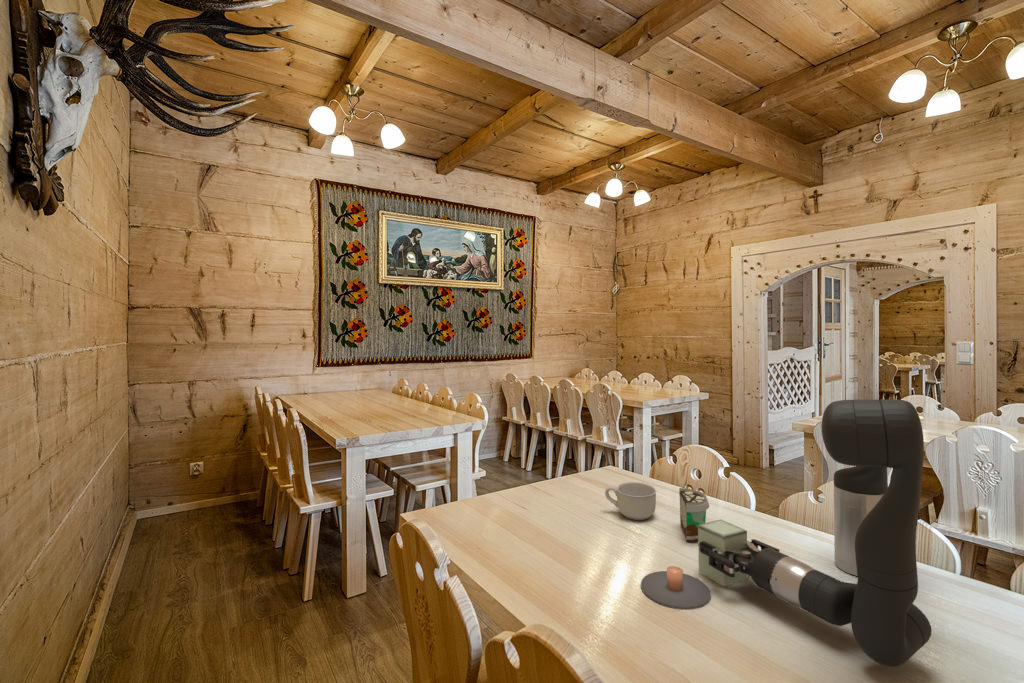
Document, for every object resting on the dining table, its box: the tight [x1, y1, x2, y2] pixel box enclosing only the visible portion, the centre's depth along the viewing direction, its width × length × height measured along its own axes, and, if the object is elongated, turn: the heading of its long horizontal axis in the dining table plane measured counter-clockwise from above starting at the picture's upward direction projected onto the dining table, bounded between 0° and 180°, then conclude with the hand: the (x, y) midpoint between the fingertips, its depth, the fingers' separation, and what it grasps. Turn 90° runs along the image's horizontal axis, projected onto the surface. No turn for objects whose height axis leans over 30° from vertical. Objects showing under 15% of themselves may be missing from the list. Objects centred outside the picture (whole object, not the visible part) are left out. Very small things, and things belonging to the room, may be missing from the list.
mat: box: [640, 570, 712, 610], centre depth 93 cm, size 13×13×1 cm
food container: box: [678, 487, 710, 544], centre depth 118 cm, size 12×6×10 cm, turn 168°
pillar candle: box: [666, 565, 684, 592], centre depth 93 cm, size 3×3×4 cm
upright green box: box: [697, 519, 749, 587], centre depth 98 cm, size 7×7×10 cm
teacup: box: [604, 481, 657, 521], centre depth 132 cm, size 14×11×8 cm
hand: (714, 542), depth 100 cm, fingers open, 7 cm apart
